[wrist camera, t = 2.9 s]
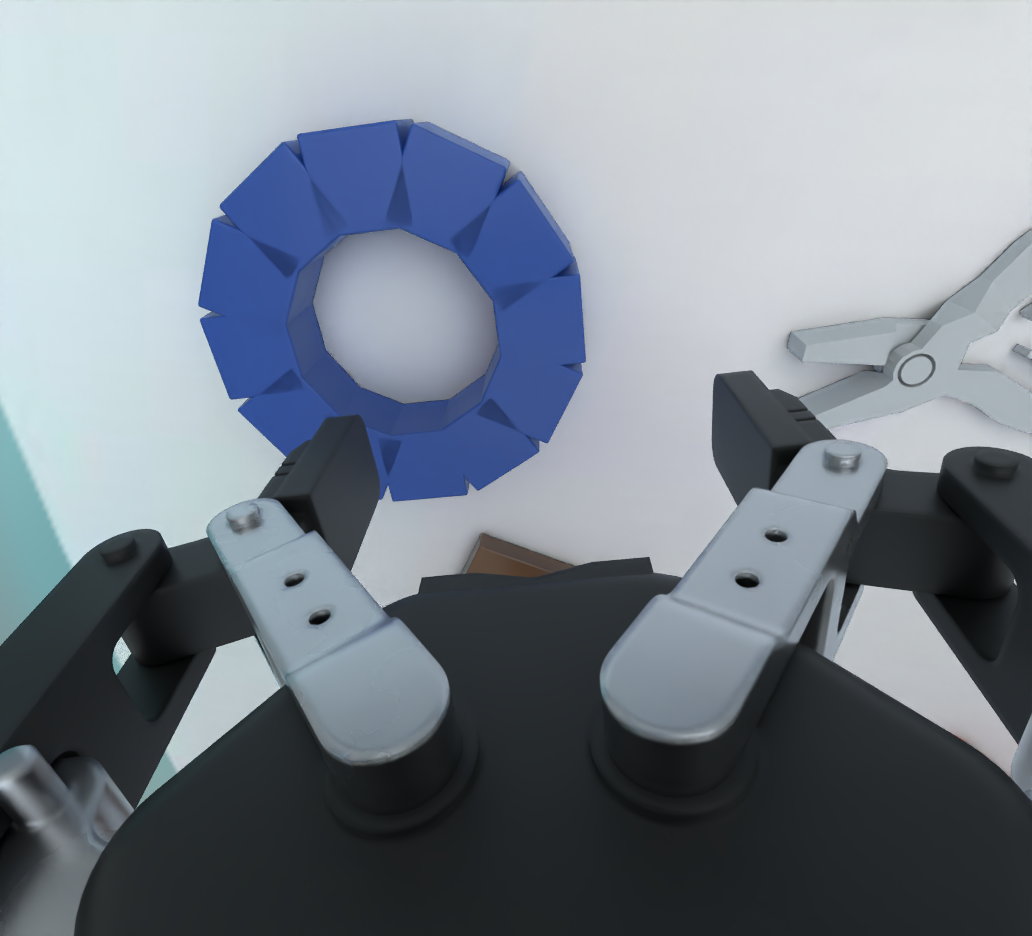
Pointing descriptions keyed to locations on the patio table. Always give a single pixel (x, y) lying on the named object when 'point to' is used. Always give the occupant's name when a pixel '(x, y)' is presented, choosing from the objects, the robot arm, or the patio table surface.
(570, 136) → the patio table surface
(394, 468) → the ring
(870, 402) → the pliers
